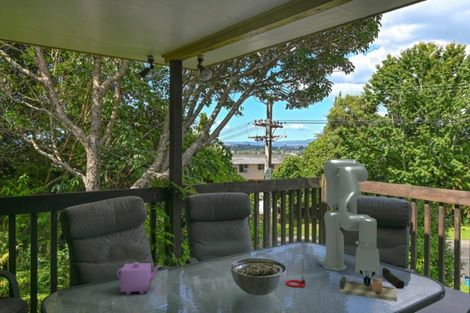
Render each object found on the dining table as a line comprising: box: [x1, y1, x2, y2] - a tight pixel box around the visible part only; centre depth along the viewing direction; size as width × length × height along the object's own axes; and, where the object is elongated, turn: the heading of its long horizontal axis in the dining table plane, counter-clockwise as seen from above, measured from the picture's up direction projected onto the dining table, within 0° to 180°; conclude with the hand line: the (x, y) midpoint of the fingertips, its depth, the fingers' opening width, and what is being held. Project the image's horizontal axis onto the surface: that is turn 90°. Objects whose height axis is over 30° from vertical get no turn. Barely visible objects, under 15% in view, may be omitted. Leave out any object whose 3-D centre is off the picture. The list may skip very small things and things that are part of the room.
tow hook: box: [285, 257, 307, 288], centre depth 170 cm, size 8×13×9 cm
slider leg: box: [371, 277, 383, 293], centre depth 159 cm, size 4×7×4 cm, turn 157°
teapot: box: [116, 261, 163, 295], centre depth 161 cm, size 20×10×12 cm, turn 97°
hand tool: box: [381, 267, 405, 290], centre depth 175 cm, size 19×4×5 cm, turn 178°
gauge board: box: [337, 276, 398, 302], centre depth 161 cm, size 24×12×4 cm, turn 67°
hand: (367, 285), depth 161 cm, fingers closed
